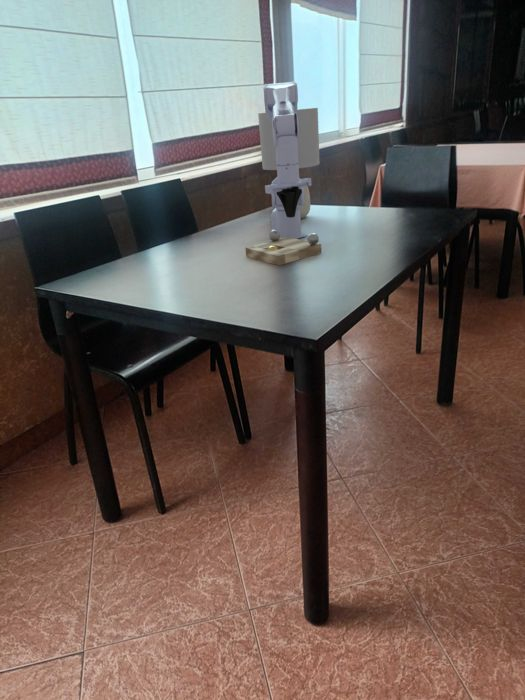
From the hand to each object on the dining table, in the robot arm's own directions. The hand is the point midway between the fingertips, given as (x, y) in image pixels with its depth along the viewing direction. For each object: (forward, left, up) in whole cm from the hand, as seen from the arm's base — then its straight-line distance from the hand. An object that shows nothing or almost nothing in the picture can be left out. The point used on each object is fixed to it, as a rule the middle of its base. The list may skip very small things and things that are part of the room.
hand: (290, 216), depth 135 cm
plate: (0, -4, -10) cm, 10 cm away
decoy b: (+7, +2, -6) cm, 9 cm away
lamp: (-37, +32, -10) cm, 50 cm away
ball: (0, -7, -8) cm, 11 cm away
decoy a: (-6, -1, -6) cm, 9 cm away
